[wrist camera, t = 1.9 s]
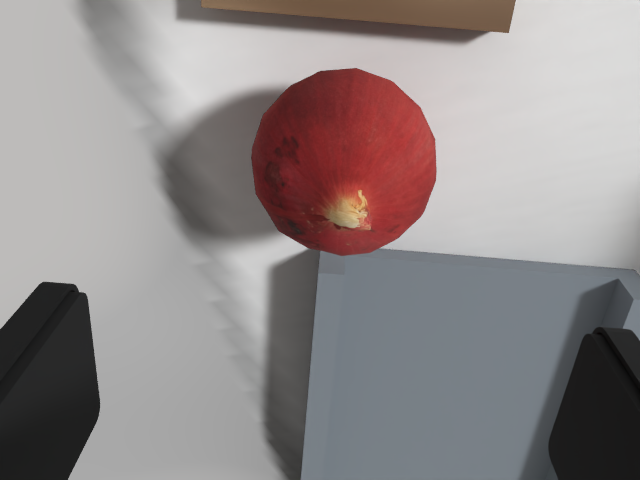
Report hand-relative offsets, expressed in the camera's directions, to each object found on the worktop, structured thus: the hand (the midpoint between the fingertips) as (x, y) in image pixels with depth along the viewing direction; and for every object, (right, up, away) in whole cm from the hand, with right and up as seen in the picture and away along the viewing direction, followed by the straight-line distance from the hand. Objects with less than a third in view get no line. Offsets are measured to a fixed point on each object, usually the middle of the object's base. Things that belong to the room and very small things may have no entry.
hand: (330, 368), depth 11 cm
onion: (+1, +7, +11) cm, 13 cm away
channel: (+6, -7, +18) cm, 20 cm away
